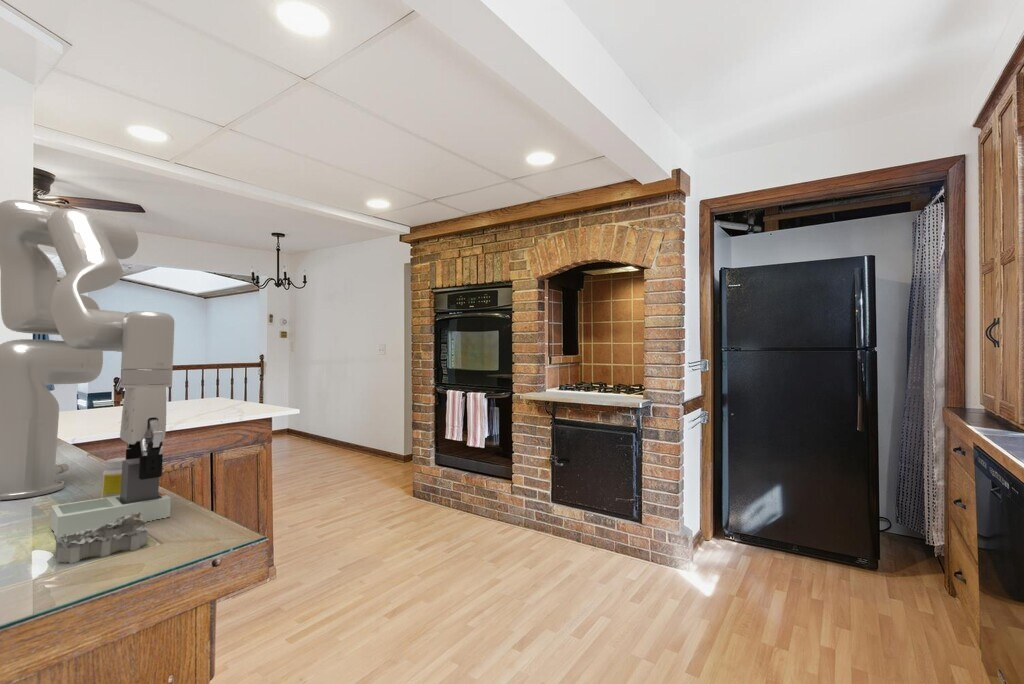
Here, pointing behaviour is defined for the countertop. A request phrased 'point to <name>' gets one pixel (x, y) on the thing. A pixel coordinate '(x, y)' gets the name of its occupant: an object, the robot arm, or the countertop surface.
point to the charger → (136, 484)
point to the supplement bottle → (112, 478)
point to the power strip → (104, 512)
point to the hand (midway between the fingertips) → (143, 473)
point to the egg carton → (102, 539)
